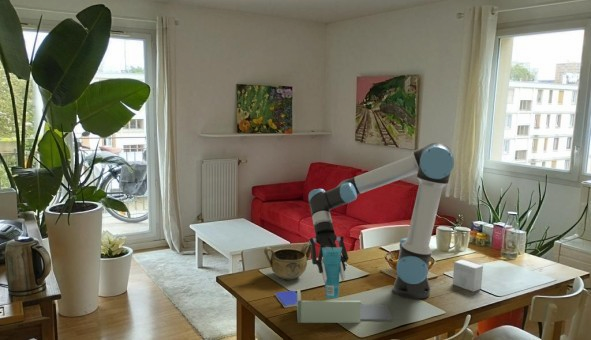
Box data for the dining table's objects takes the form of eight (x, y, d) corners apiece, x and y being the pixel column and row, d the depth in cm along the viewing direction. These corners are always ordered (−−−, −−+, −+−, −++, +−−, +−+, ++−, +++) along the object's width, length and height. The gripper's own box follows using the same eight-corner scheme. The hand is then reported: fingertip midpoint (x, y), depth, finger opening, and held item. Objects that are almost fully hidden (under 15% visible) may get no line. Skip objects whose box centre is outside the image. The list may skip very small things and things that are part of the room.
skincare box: (481, 288, 205) (483, 265, 203) (473, 292, 201) (475, 268, 199) (460, 281, 213) (462, 258, 211) (452, 284, 209) (453, 261, 207)
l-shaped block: (355, 309, 183) (356, 289, 182) (360, 322, 172) (360, 302, 171) (296, 308, 183) (297, 289, 181) (297, 322, 172) (298, 302, 170)
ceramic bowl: (304, 268, 226) (305, 237, 224) (318, 281, 210) (319, 248, 208) (259, 273, 219) (260, 242, 216) (270, 287, 203) (270, 253, 201)
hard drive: (304, 302, 186) (293, 290, 198) (284, 305, 184) (275, 292, 195) (304, 306, 187) (293, 293, 198) (284, 308, 184) (275, 296, 195)
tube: (339, 293, 180) (340, 244, 177) (343, 298, 176) (343, 249, 173) (320, 294, 179) (320, 246, 176) (323, 300, 175) (323, 250, 172)
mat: (385, 306, 186) (385, 304, 186) (392, 320, 174) (392, 319, 174) (355, 306, 186) (355, 304, 186) (360, 320, 174) (360, 319, 174)
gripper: (344, 228, 191) (356, 282, 178) (298, 231, 187) (307, 286, 174) (348, 218, 185) (361, 273, 172) (300, 221, 181) (310, 277, 168)
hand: (334, 279), depth 173 cm, fingers closed on tube, 6 cm apart
